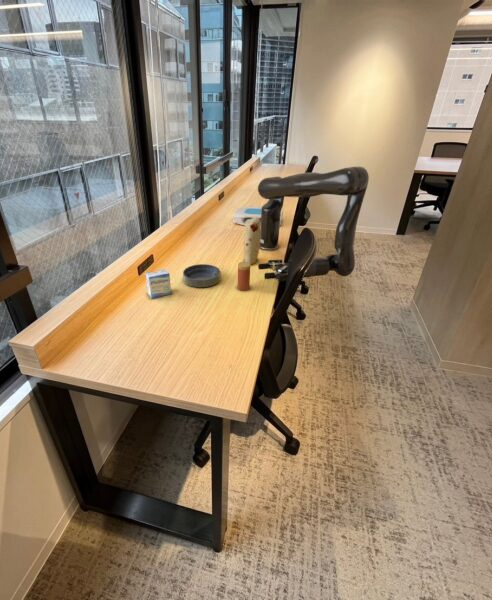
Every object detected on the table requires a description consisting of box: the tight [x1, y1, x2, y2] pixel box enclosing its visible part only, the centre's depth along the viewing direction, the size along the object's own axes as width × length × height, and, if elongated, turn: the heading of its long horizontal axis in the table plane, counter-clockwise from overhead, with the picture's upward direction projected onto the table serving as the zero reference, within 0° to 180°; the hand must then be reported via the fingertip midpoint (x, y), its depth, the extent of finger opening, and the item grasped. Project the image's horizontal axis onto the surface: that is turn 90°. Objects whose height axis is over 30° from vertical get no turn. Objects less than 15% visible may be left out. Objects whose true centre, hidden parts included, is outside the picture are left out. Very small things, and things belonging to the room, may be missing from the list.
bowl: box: [182, 263, 221, 288], centre depth 132 cm, size 15×15×4 cm
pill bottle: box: [237, 261, 252, 292], centre depth 124 cm, size 5×5×10 cm
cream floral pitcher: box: [243, 217, 261, 265], centre depth 144 cm, size 10×7×20 cm
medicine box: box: [144, 269, 172, 299], centre depth 121 cm, size 8×4×9 cm, turn 117°
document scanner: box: [232, 206, 284, 226], centre depth 200 cm, size 21×28×6 cm
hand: (261, 271), depth 125 cm, fingers open, 8 cm apart
